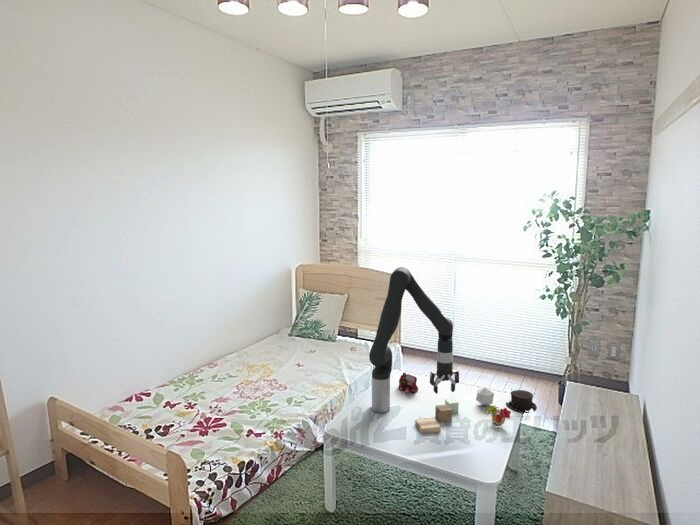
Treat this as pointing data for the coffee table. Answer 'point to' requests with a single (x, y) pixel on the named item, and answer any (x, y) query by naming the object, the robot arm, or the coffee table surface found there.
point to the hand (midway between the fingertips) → (444, 392)
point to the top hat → (521, 401)
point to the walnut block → (443, 413)
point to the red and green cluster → (501, 415)
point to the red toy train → (408, 383)
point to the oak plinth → (427, 425)
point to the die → (485, 396)
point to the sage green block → (452, 404)
